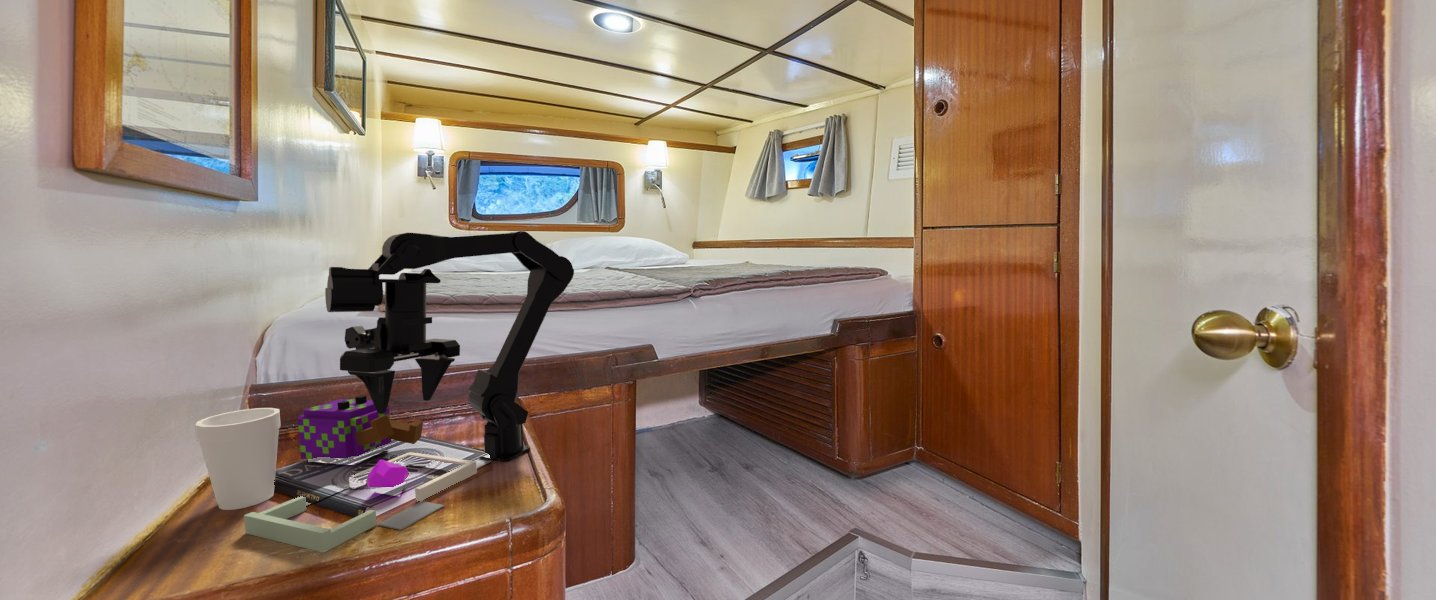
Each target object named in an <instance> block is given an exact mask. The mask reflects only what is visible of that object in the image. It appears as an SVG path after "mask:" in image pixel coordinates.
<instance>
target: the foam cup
mask: <svg viewBox="0 0 1436 600" xmlns="http://www.w3.org/2000/svg"><path fill="white" fill-rule="evenodd" d="M281 423H282V422H281V415H280V408H274V407H256V408H247V409H239V410H233V411H229V412H223V413H220V414H215V415H212V416H208V417H204V418H202V419H200V420H197V421H196V423H195V435H196V441H197V442H199V443H198V444H199V445H200V450H201V452H202V453H201V454H202V456H203V459H204V463H205V466H206V469H207V472H208V476H209V477H208V478H209V479H210V483H211V486H212V490H213V493H214V496H215V500H216V503H217V505H218V509H220V510H223V511H224V510H225V511H228V510H229V511H232V510H239V509H245V508H249V507H251V506H255V505H259V504H261V503H263V502H266V501H268V500H270V499H271V498H273V496H274V495H275V494H274V492H275V485H274V482H275V483H276V470H277V457H278V446H279V444H278V443H279V433H280V431H279V430H280V428H281V426H282V425H281ZM274 480H275V481H274Z"/></svg>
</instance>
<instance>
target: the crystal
mask: <svg viewBox="0 0 1436 600" xmlns="http://www.w3.org/2000/svg"><path fill="white" fill-rule="evenodd" d="M388 461H389V460H384V459H379V460H378V461H377V462H376V463H375V465H374V466H375V467H374V466H373V467H374V468H373V469H372V470H371V472H370V473H369V474H368V478H367V484H366V485H367V488H368V487H394V486H396V485H399V484H401V483H403V482H404V481H405V479H406V478H407V477H408V475H409V474H410V472H409V470H408V467H404V466H401V465H397V464H394V463H391V462H388ZM409 476H410V475H409Z"/></svg>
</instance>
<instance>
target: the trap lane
mask: <svg viewBox="0 0 1436 600" xmlns="http://www.w3.org/2000/svg"><path fill="white" fill-rule="evenodd" d="M407 456H414V457H420V458H425V459H430V460H435V461H440V462H444V463H455V464H461V465H462V466H460V467H458V468H456V469H454V470H452V471H450V472H448V471H447V472H446V473H443V474H441V475H439V476H438V477H434V479H431V480H429V481H427V482H425V483H423V484H421V485H419V486H416V487H415V488H414V493H415V501H416V500H417V501H416V502H418V501H420V502H421V501H423V500H424V499H426V498H428V497H430V496H432V495H434V494H436V493H437V494H439V493H441V492H442V491H441V490H443V491H445V490H447V489H449V488H451V487H452V486H451V485H453V486H455V485H457V484H458V482H459V483H460V481H461V482H462V481H464V480H466V479H468V478H470V477H472V476H475V475H476V474H477V473H478V469H477V468H478V467H477V461H475V460H469V459H462V458H456V457H455V458H454V457H447V456H441V455H435V454H434V455H433V454H427V453H419V452H412V451H408V452H407V453H403V454H401V455H399V456H395V457H394V458H391V459H389V460H387V461H388V462H391V463H392V462H395V461H398V460H400V459H403V458H406V457H407ZM374 467H375V465H374V466H371V467H370V468H367V469H365V470H361V471H359V472H357V473H354V474H355V475H354V474H352V475H351V476H355V477H356V476H359V475H361V474H364V473H366V472H368V471H370V470H372V469H373V468H374ZM456 483H457V484H456ZM454 484H455V485H454ZM450 486H451V487H450ZM448 487H449V488H448ZM446 488H447V489H446ZM444 489H445V490H444ZM440 491H441V492H440ZM438 492H439V493H438ZM437 494H436V495H437ZM299 496H300V497H299ZM299 496H297V498H296V497H294V498H295V499H294V498H292V500H291V499H289V500H290V501H289V500H287V502H286V501H284V502H285V503H284V502H282V503H283V504H282V503H280V504H278V505H276V506H273V507H270V508H268V509H266V510H263V511H261V512H260V511H259V512H254V511H251V512H249V513H246V514H244V515H243V519H244V530H245V534H247V535H251V536H256V537H259V538H263V539H267V540H271V541H276V542H279V543H284V544H288V545H292V546H295V547H300V548H304V549H308V550H311V551H315V552H320V553H326V552H327V551H330V550H331V549H333V548H335V547H338V546H339V545H341V544H343V543H345V542H347V541H350V540H351V539H353V538H354V537H356V536H359V535H360V534H363V533H364V532H366V531H367V530H368V531H369V530H370V529H372V528H374V527H376V526H378V523H377V522H378V521H377V512H376V510H374V509H373V510H372V509H370V510H368V511H366V512H364V513H362V514H359V515H357V516H355V517H353V518H351V519H348V520H347V521H345V522H343V523H340V524H338V525H335V526H334V527H332V528H326V527H322V526H317V525H313V524H309V523H304V522H301V521H300V522H299V521H295V520H291V519H290V518H291V517H294V516H296V515H299V514H301V513H304V512H306V511H307V507H306V497H303V496H301V495H299ZM434 496H435V495H434ZM432 497H433V496H432ZM430 498H431V497H430ZM428 499H429V498H428ZM426 500H427V499H426ZM424 501H425V500H424Z"/></svg>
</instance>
